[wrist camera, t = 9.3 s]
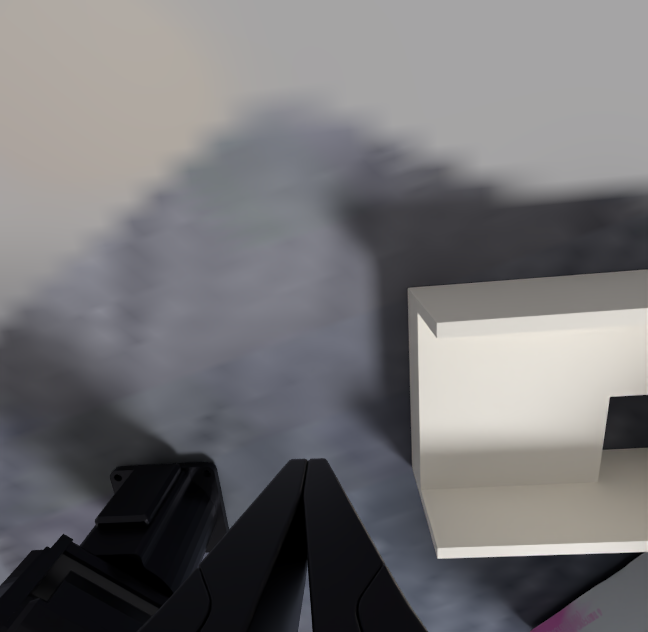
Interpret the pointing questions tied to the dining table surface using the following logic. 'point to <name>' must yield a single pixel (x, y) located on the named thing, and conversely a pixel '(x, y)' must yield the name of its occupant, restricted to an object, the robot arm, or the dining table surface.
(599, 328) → the channel
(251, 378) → the dining table surface
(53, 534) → the dining table surface
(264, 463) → the dining table surface
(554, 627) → the gum box
